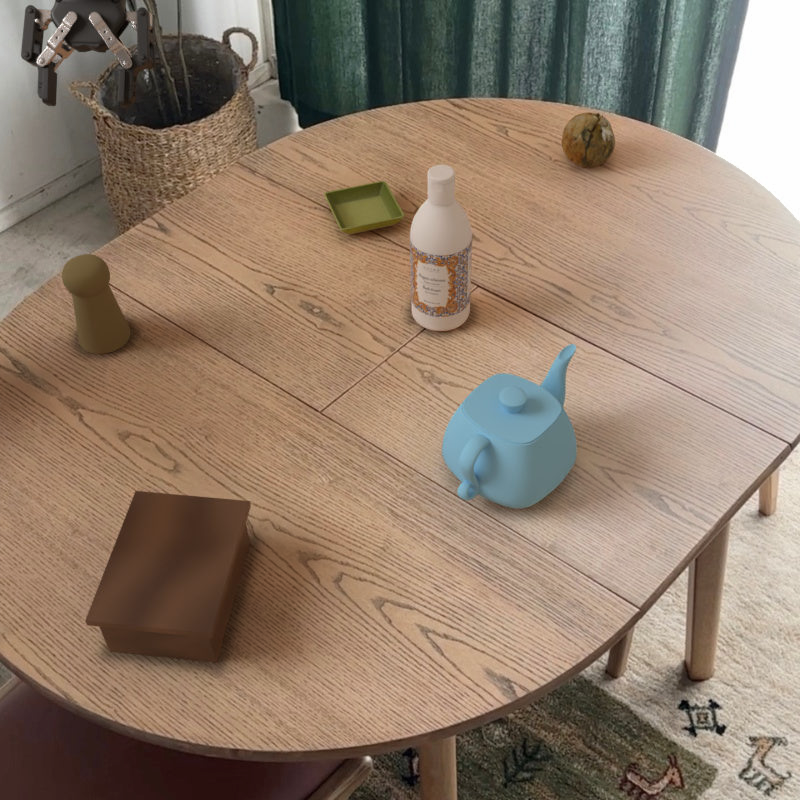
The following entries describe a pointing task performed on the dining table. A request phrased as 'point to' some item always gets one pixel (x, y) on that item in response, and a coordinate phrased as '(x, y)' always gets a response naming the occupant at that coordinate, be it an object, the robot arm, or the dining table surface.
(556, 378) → the teapot
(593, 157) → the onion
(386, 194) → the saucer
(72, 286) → the olive pawn
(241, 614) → the dining table surface
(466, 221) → the bath foam
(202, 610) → the lidded wooden box
